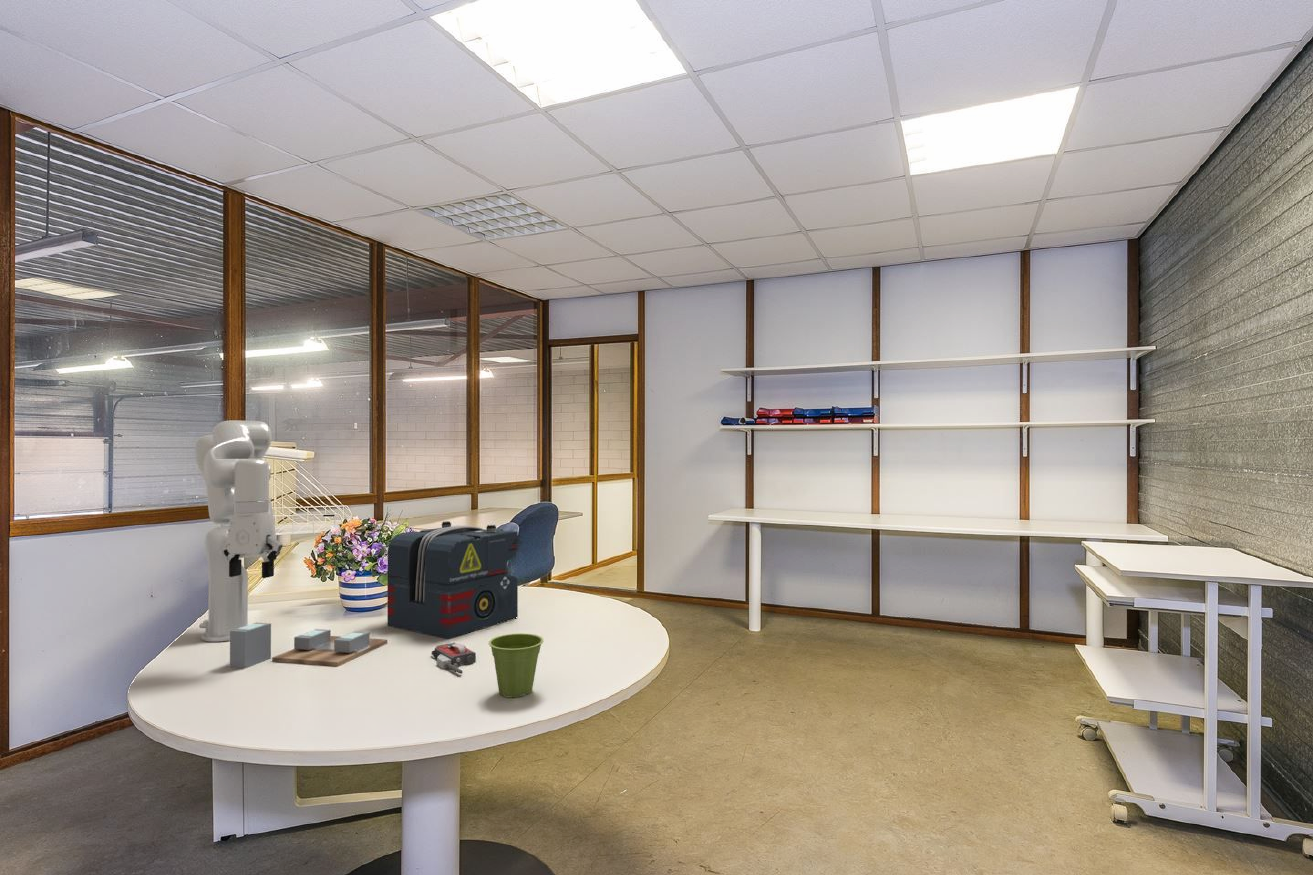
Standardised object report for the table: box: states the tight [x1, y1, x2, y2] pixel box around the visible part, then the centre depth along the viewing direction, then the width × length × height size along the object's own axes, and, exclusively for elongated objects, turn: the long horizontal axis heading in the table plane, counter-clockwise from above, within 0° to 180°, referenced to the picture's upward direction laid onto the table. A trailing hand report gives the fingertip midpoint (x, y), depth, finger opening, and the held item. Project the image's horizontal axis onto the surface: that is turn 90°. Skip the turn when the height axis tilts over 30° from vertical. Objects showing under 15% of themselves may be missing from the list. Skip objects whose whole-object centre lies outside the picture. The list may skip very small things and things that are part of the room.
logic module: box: [229, 622, 272, 670], centre depth 167 cm, size 4×8×9 cm, turn 168°
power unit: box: [386, 520, 519, 640], centre depth 206 cm, size 28×28×30 cm
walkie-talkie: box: [431, 641, 477, 675], centre depth 166 cm, size 9×4×20 cm
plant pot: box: [488, 632, 544, 698], centre depth 146 cm, size 12×12×11 cm
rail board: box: [271, 628, 388, 667], centre depth 175 cm, size 19×20×5 cm
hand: (251, 576), depth 167 cm, fingers open, 9 cm apart
